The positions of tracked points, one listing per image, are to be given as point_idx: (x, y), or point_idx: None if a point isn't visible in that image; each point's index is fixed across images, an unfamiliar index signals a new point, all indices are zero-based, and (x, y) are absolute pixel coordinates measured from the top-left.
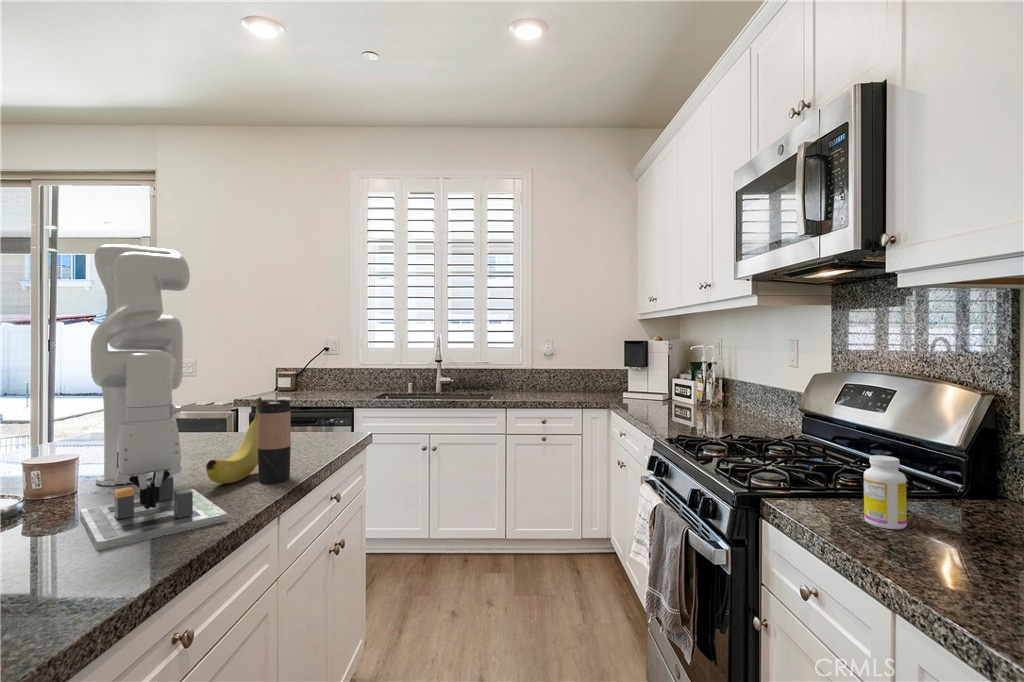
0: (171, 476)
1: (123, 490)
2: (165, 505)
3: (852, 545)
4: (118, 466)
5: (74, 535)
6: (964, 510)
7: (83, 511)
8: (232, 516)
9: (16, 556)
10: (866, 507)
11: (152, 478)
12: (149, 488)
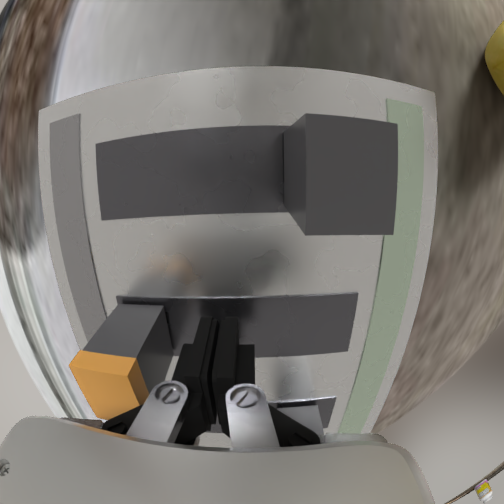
0: (393, 195)
1: (109, 406)
2: (291, 278)
3: (457, 496)
4: (12, 431)
5: (59, 303)
6: (496, 473)
7: (42, 144)
8: (388, 402)
9: (20, 347)
10: (482, 486)
11: (228, 418)
12: (211, 418)
